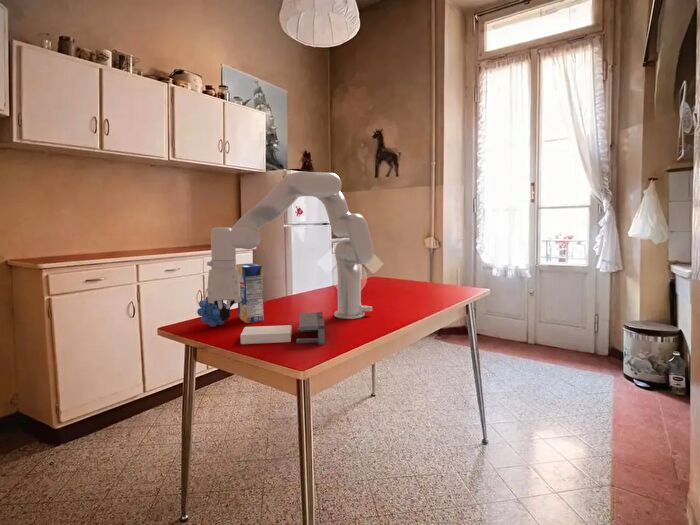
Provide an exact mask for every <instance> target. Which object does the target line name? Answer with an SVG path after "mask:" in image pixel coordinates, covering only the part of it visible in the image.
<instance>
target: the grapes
mask: <svg viewBox="0 0 700 525" xmlns="http://www.w3.org/2000/svg"><path fill="white" fill-rule="evenodd" d="M226 304H227V303H225V302H224V306H225V307H226ZM198 306H199V308H198V309H197V311H196V313H197V315H198V316H200V321H201V323H202V324H208V325H209V326H210V327H212V328H215V327H216V326H217V325H223V324H225V321H222V318H220V309H219V307H218V306H216V305H215V304H212V303H208V297H207V296H206V297H205V298H204V300H203V299H202V300H199V303H198Z"/></svg>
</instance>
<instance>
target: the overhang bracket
mask: <svg viewBox="0 0 700 525" xmlns="http://www.w3.org/2000/svg"><path fill="white" fill-rule="evenodd" d="M296 331H297V332H296V333H315V332H316V334H317V337H314V338H312V337H311V338H307V337H306V338H296V344H313V343H315V344H316V343H317V344H318V346H319V345H320V346H321V345H325V344H326V343H325V342H326V341H325V340H326V338H325V336H326V334H325V332H326V331H325V321H324V315H323V312H322V311H321V312H300V313H299V327H298V328H297V330H296Z"/></svg>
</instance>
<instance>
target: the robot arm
mask: <svg viewBox="0 0 700 525" xmlns="http://www.w3.org/2000/svg"><path fill="white" fill-rule="evenodd" d="M342 185H343V184H342V180H341V178H340V177H339V175H337V174H336V173H333V172H321V171H319V172H318V171H317V172H315V171H297V172H291V173H288V174H286V175H285V176H284V177H282V179H281V180H280V181H279V182H278V183H277V184H276V185H275V186H274V187H273V188H272V189H271V190H270V191H269V193H268V194H266V196H265V197H264V198H263V199H262V200H260V201H259V202H258V203H256V205H254V206H253V207H252V208H251V209H249V210H248V211H247V212H245V213H244V214H243V215H242V216H241V217H240V218H239V219H238V220H237V221H236V222H235V224H233V226H231V227H227V226H225V227H224V226H223V227H221V226H219V227H217V226H216V227H213V228H212V229H211V230H210V246H211V248H210V249H211V250H210V251H211V260H209V261H207V262H206V265H207V266H209V267H210V268H211V269H210V268H209V271H208V276H207V287H206V288H207V289H206V293H207V296H206V297H208V303H212V304H215V305H216V306H218V307H219V309H220V318H222V321H224V322H228V320H229V319H230V318H231V308H232V307H233V306H234V305H235V304H238V303H239V302H241V301H242V299H241V285H240V277H239V271H238V269H236V265H237V261H236V260H237V259H236V258H237V257H236V256H237V255H236V253H237V252H236V251H237V250H236V249H243V250H253V249H255V248H257V247H258V246H259V245H260V243H261V242H262V241H261V240H262V236H261V232H260V231H259V230H260V229H261V228H262V227H263V226H265V225H267V224H269V223H271V222H275V221H276V220H278V219H279V218H281V217H282V216H284V214H285V213H286V212H287V210H289V209H290V207H291V206H292V205H293V204H294V203H295V202H296V200H297V199H298V198H300V197H313V198H317V199H318V200H319V201H320V202H321V203H322V204H323V206H324V208H325V210H326V214H327V217H328V221H329V224H330V228H331V231H332V233H333V235H334V236H336V237H337V238H342V240H340V241H338V242H337V244H336V245H335V248H334V257H335V262H336V267H337V270H336V272H337V273H336V274H337V310H336V311H335V312H334V314H333V315H334V317H335V318H338V319H341V320H342V319H343V320H354V319H361V318H363V317H365V313H366V312H373V306H372V305H371V306H369V305H362V302H361V300H362V297H361V296H362V293H361V292H362V284H361V279H362V277H361V276H362V273H361V268H360V265H366V264H369V263H370V262H372V260H373V258H374V254H375V250H374V244H373V241H372V237H371V236H372V235H371V233H370V232H371V231H370V229H369V226H368V222H367V220H366V219H365V218H364V216H363V215H362V214H360V213H355V212H354V213H353V212H352V213H351V212H350V210H349V206H348V204H347V199H346V198H345V196H344V195H343V193H342V192H341V190H342ZM343 238H345V239H343ZM224 301H226V303H225V302H224ZM224 303H225V304H226V307H225V306H224Z"/></svg>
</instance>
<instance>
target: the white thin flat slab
mask: <svg viewBox="0 0 700 525" xmlns="http://www.w3.org/2000/svg"><path fill="white" fill-rule="evenodd" d="M292 333H293V331H292V324H287V325H285V324H284V325H262V326H260V325H259V326H245V327H244V328H243V330H242V332H241V333H240V335H239V336H240V345H249V344H250V345H251V344H253V345H255V344H272V343H273V344H275V343H291V340H292V335H293V334H292Z"/></svg>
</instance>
